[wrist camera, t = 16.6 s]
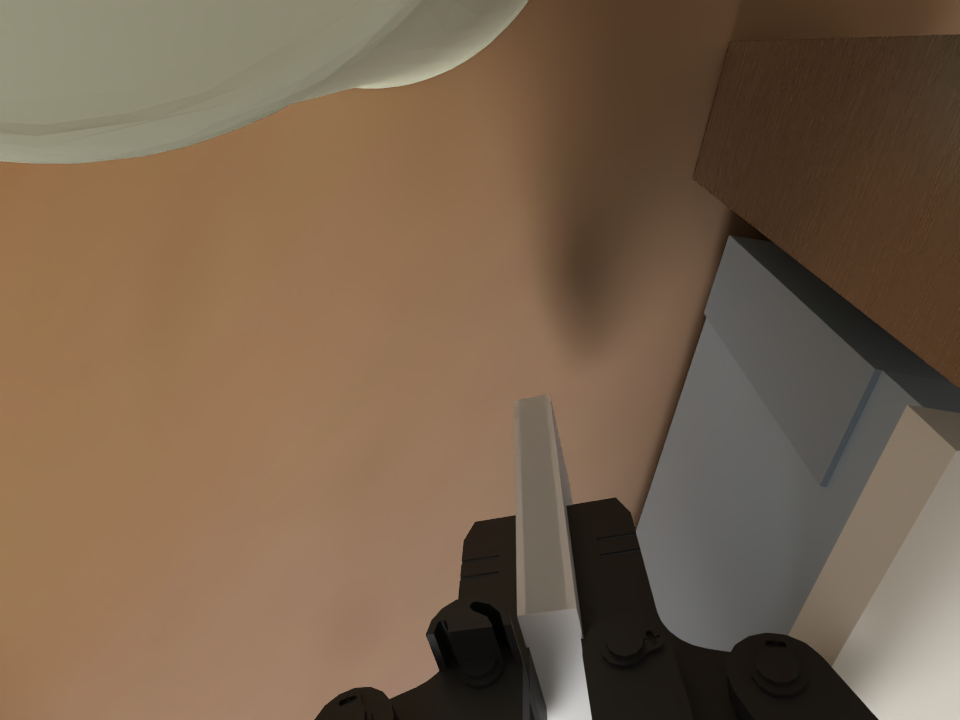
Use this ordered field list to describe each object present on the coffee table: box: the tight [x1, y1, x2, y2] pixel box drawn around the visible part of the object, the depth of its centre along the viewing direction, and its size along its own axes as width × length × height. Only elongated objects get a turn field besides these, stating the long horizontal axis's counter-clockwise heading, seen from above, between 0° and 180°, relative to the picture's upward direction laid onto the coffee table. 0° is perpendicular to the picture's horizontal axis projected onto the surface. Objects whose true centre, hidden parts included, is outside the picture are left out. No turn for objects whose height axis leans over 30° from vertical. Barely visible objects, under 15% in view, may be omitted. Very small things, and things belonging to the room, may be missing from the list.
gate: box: [636, 235, 960, 720], centre depth 16 cm, size 22×2×9 cm, turn 172°
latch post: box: [693, 35, 960, 389], centre depth 10 cm, size 5×8×13 cm, turn 173°
